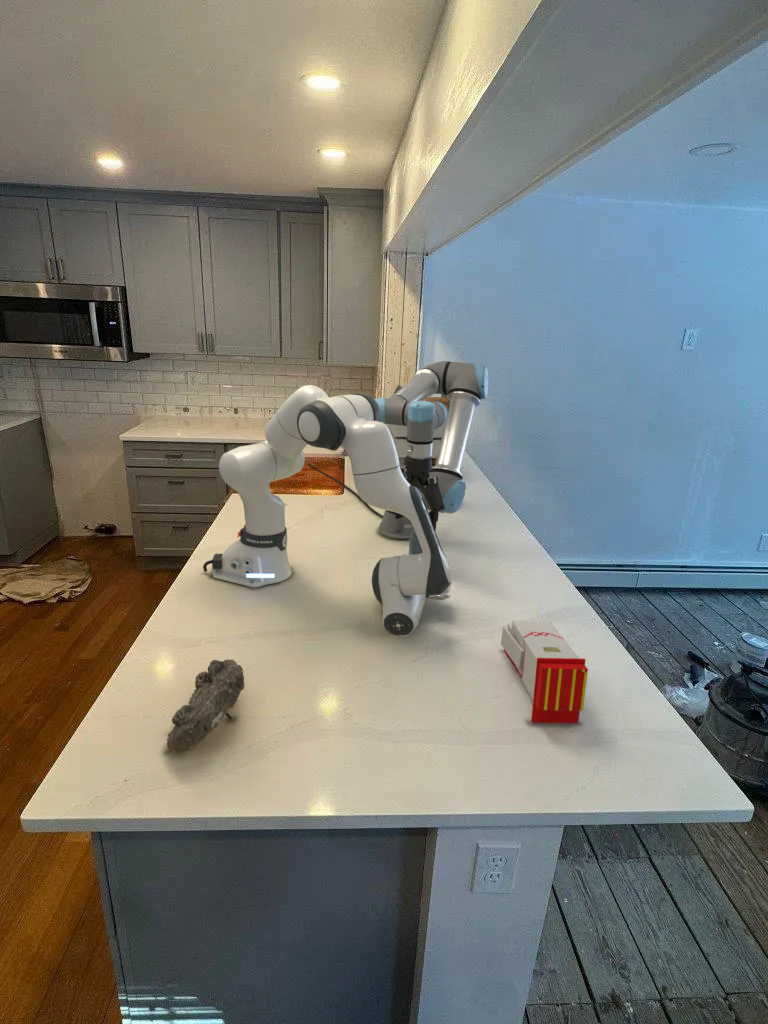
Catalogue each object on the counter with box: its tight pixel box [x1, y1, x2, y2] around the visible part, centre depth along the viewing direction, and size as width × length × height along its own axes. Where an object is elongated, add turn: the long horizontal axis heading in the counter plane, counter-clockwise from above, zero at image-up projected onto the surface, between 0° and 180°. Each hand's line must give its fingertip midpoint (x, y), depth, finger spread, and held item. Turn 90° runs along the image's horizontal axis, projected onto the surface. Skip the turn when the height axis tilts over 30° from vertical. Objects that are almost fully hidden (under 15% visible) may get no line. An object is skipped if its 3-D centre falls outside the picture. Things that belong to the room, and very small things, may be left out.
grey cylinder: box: [408, 529, 423, 555], centre depth 156 cm, size 5×5×19 cm
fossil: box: [166, 658, 245, 754], centre depth 106 cm, size 22×10×15 cm
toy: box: [500, 620, 589, 724], centre depth 121 cm, size 12×13×30 cm
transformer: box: [386, 384, 462, 472], centre depth 268 cm, size 34×33×41 cm
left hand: (416, 571), depth 157 cm, fingers closed on grey cylinder, 5 cm apart
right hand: (415, 524), depth 171 cm, fingers open, 13 cm apart
